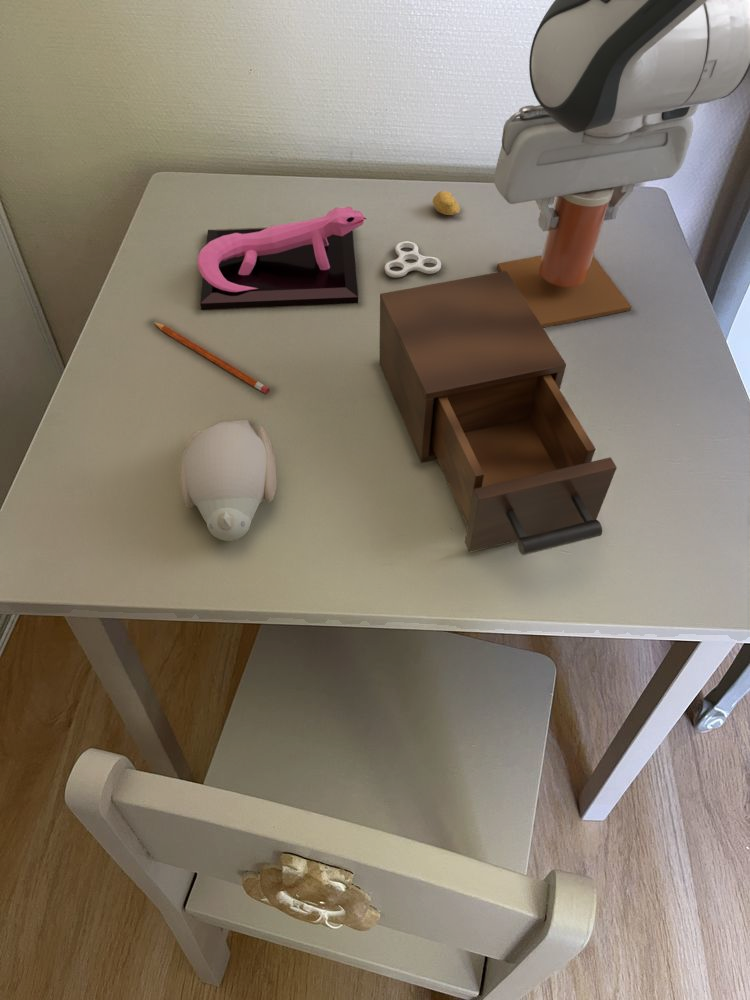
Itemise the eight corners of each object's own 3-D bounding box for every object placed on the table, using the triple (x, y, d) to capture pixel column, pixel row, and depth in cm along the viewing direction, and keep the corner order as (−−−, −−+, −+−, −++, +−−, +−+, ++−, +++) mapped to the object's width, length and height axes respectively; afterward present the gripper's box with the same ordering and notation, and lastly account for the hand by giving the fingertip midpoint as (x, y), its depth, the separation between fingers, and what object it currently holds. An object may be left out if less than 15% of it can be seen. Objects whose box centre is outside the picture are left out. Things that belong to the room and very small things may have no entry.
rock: (455, 222, 101) (457, 202, 99) (427, 214, 102) (428, 194, 100) (465, 209, 103) (467, 189, 101) (437, 201, 104) (439, 181, 102)
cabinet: (548, 434, 79) (566, 364, 71) (420, 463, 76) (426, 393, 69) (495, 341, 87) (506, 270, 80) (379, 364, 85) (379, 293, 77)
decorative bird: (187, 560, 70) (169, 510, 64) (186, 429, 79) (171, 375, 73) (285, 548, 70) (277, 498, 64) (272, 420, 80) (264, 366, 74)
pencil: (265, 395, 82) (264, 391, 82) (151, 326, 89) (150, 321, 88) (270, 391, 83) (269, 386, 82) (157, 322, 89) (155, 318, 89)
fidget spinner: (386, 280, 94) (387, 274, 93) (377, 248, 97) (377, 243, 97) (443, 273, 94) (443, 267, 94) (431, 242, 98) (431, 237, 98)
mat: (585, 251, 98) (586, 247, 97) (630, 310, 91) (631, 306, 90) (496, 267, 95) (497, 263, 95) (535, 329, 89) (536, 325, 88)
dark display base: (370, 302, 91) (370, 249, 85) (199, 309, 90) (187, 256, 85) (363, 230, 100) (362, 176, 94) (207, 236, 99) (197, 182, 93)
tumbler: (574, 255, 93) (598, 167, 85) (596, 283, 90) (623, 196, 81) (530, 261, 92) (550, 173, 83) (550, 291, 89) (573, 202, 80)
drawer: (617, 558, 69) (641, 505, 62) (486, 592, 67) (497, 541, 60) (537, 417, 79) (551, 360, 73) (421, 443, 77) (425, 386, 71)
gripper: (519, 125, 71) (499, 254, 82) (716, 96, 75) (672, 223, 86) (494, 94, 75) (478, 221, 86) (682, 67, 78) (644, 193, 89)
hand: (576, 222), depth 86 cm, fingers closed on tumbler, 6 cm apart
